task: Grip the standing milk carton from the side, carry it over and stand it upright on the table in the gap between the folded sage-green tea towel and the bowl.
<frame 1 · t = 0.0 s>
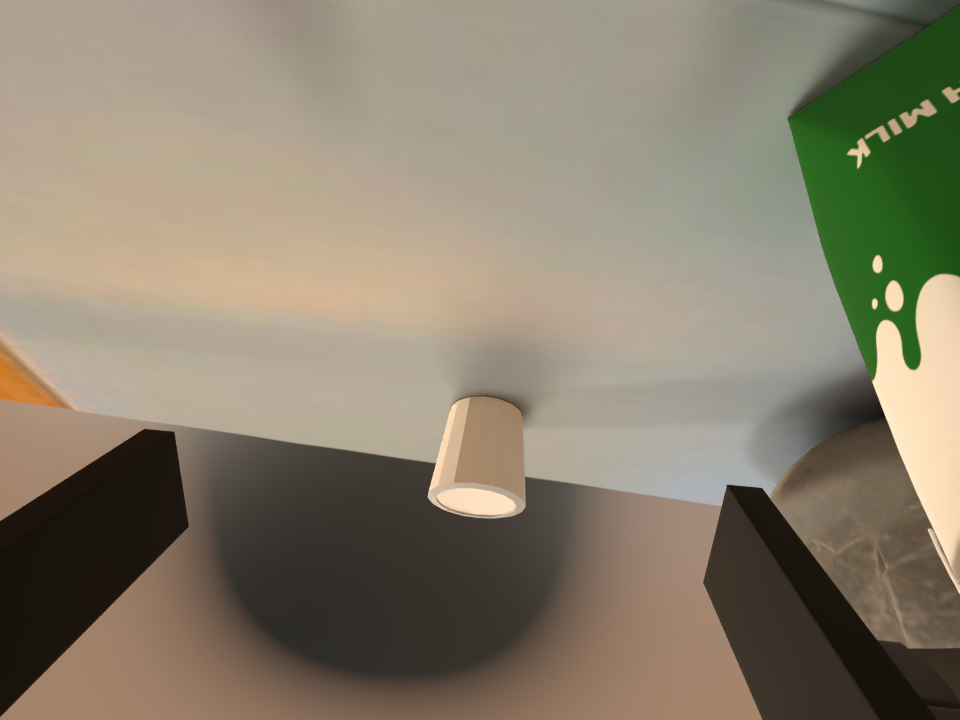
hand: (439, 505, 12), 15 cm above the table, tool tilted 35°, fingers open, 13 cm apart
beige tapered cylinder: (486, 413, 40), on the table
bowl: (895, 435, 37), on the table
milk carton: (931, 111, 19), on the table
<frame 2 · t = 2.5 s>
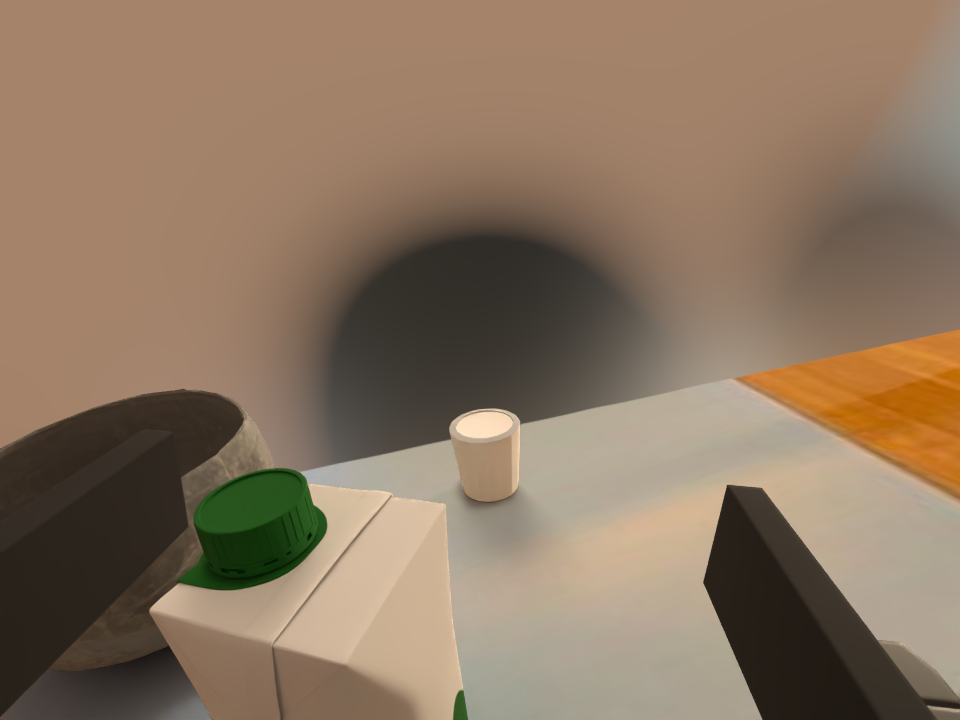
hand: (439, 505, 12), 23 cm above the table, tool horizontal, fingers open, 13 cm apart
beige tapered cylinder: (491, 486, 53), on the table
bowl: (170, 606, 42), on the table
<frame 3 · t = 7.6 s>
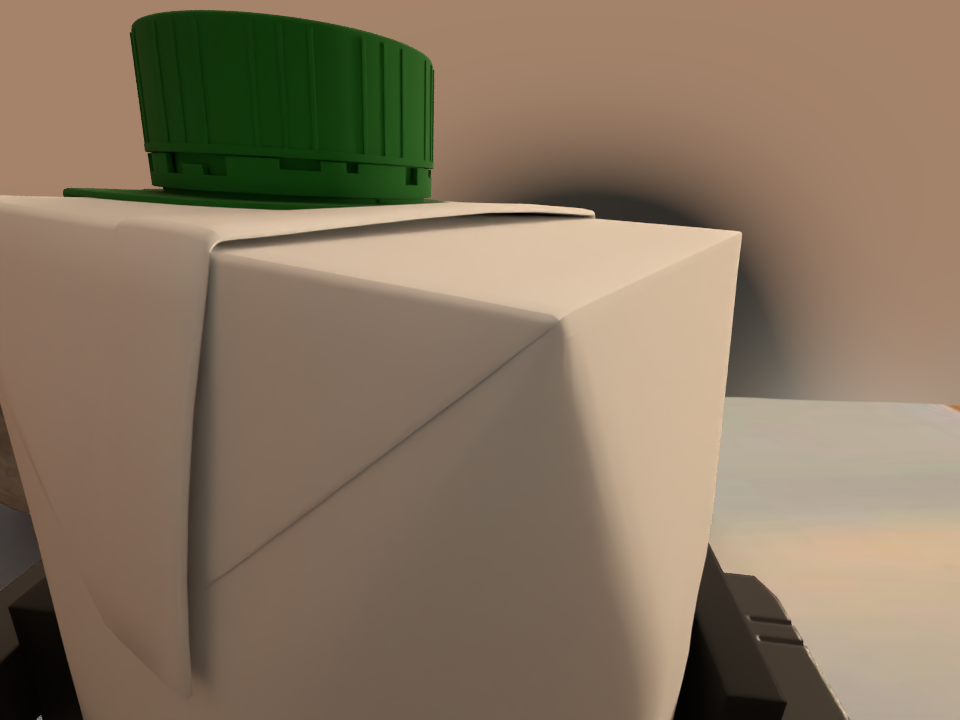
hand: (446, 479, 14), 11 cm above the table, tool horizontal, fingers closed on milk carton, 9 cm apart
bowl: (178, 482, 32), on the table
when the fingers open (11 cm above the table, at t = 14.9 s): milk carton stays where it is, on the table.
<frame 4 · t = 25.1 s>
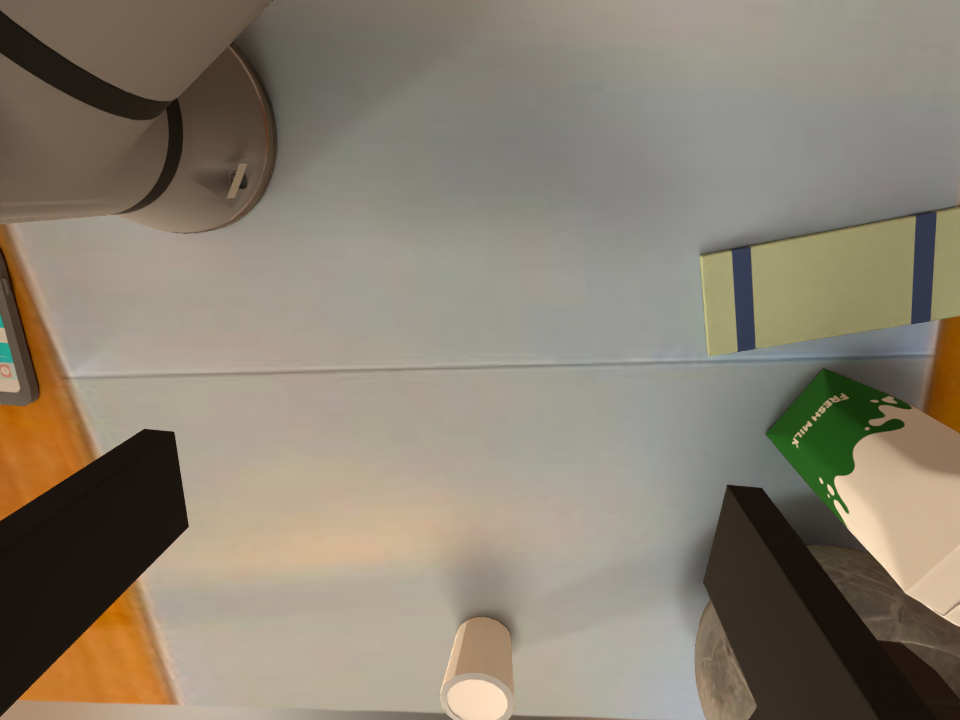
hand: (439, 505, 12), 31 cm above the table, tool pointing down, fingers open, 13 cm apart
beige tapered cylinder: (483, 636, 54), on the table
bowl: (781, 594, 49), on the table
milk carton: (826, 420, 43), on the table
tea towel: (827, 284, 39), on the table
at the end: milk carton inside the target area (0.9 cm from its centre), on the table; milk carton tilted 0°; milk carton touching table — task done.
